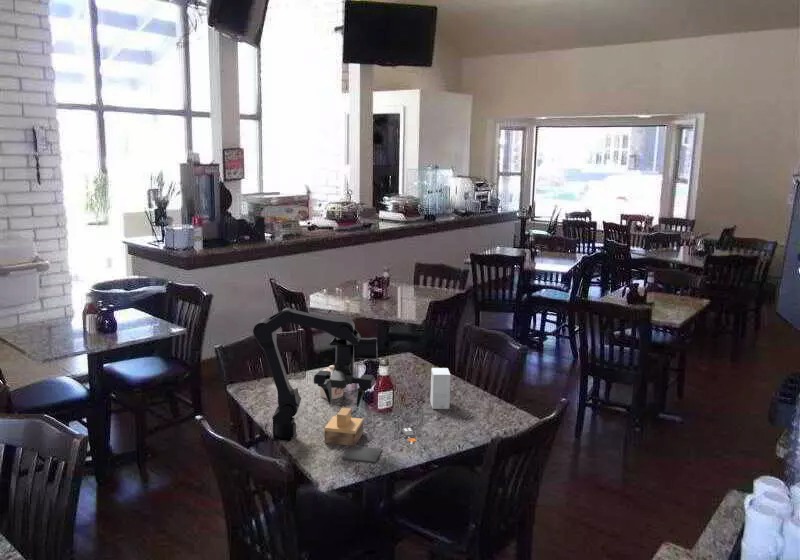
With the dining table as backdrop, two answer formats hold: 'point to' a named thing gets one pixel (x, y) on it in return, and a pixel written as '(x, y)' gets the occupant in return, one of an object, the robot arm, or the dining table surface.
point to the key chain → (409, 434)
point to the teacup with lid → (335, 391)
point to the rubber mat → (362, 454)
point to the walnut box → (343, 437)
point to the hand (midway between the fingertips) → (344, 405)
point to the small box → (440, 388)
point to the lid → (344, 422)
